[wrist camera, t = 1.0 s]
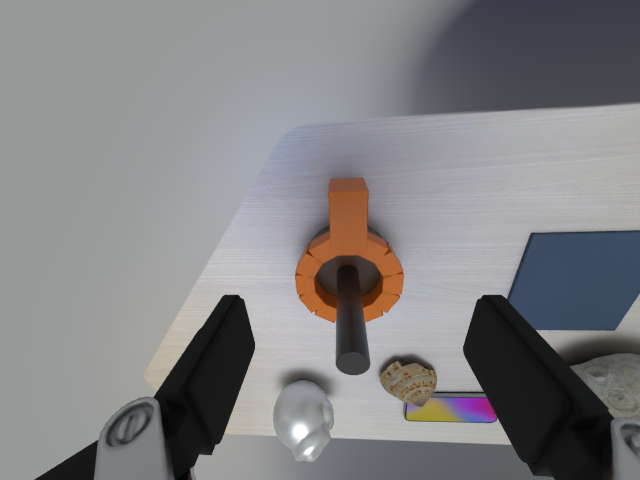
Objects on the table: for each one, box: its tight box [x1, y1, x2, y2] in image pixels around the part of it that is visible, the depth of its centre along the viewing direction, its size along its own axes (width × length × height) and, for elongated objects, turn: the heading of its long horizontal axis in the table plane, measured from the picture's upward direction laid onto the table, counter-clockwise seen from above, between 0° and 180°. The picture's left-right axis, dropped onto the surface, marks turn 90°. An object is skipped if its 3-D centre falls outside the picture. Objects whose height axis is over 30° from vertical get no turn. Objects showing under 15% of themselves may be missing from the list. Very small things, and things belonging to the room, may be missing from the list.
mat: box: [507, 231, 640, 331], centre depth 28 cm, size 14×14×1 cm
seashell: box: [380, 361, 437, 407], centre depth 36 cm, size 8×6×8 cm
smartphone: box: [404, 393, 498, 423], centre depth 40 cm, size 7×1×15 cm
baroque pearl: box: [273, 380, 334, 462], centre depth 36 cm, size 9×10×10 cm
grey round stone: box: [570, 353, 640, 420], centre depth 31 cm, size 18×18×10 cm
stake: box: [309, 226, 383, 375], centre depth 23 cm, size 10×10×14 cm
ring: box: [295, 178, 404, 323], centre depth 23 cm, size 16×11×4 cm
